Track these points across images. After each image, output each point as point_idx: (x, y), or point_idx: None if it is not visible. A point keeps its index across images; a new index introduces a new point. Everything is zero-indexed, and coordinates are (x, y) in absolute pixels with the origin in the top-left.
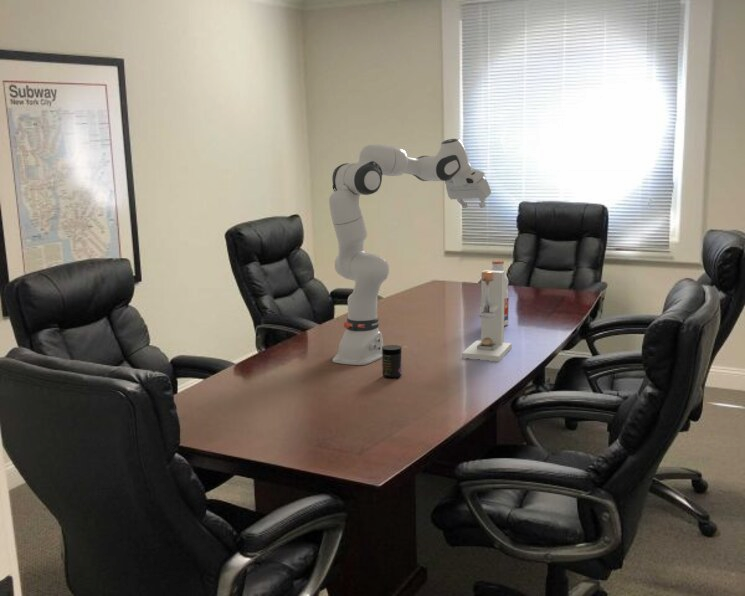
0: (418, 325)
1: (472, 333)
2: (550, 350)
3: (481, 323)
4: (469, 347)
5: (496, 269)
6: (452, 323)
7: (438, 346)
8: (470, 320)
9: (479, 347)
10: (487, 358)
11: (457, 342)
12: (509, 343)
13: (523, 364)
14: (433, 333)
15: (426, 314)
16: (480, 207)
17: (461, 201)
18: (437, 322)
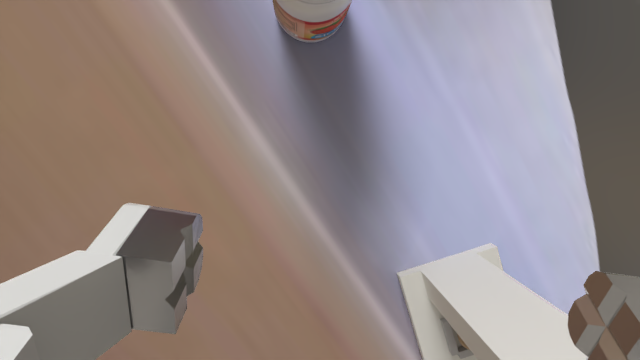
0: (106, 167)
1: (311, 160)
2: (586, 203)
3: (448, 321)
4: (424, 350)
5: None
6: (180, 79)
7: (317, 340)
8: (203, 5)
9: (461, 357)
10: None
11: (335, 275)
12: (493, 253)
13: None
14: (214, 228)
15: (16, 9)
16: (572, 327)
17: (60, 346)
18: (130, 95)
